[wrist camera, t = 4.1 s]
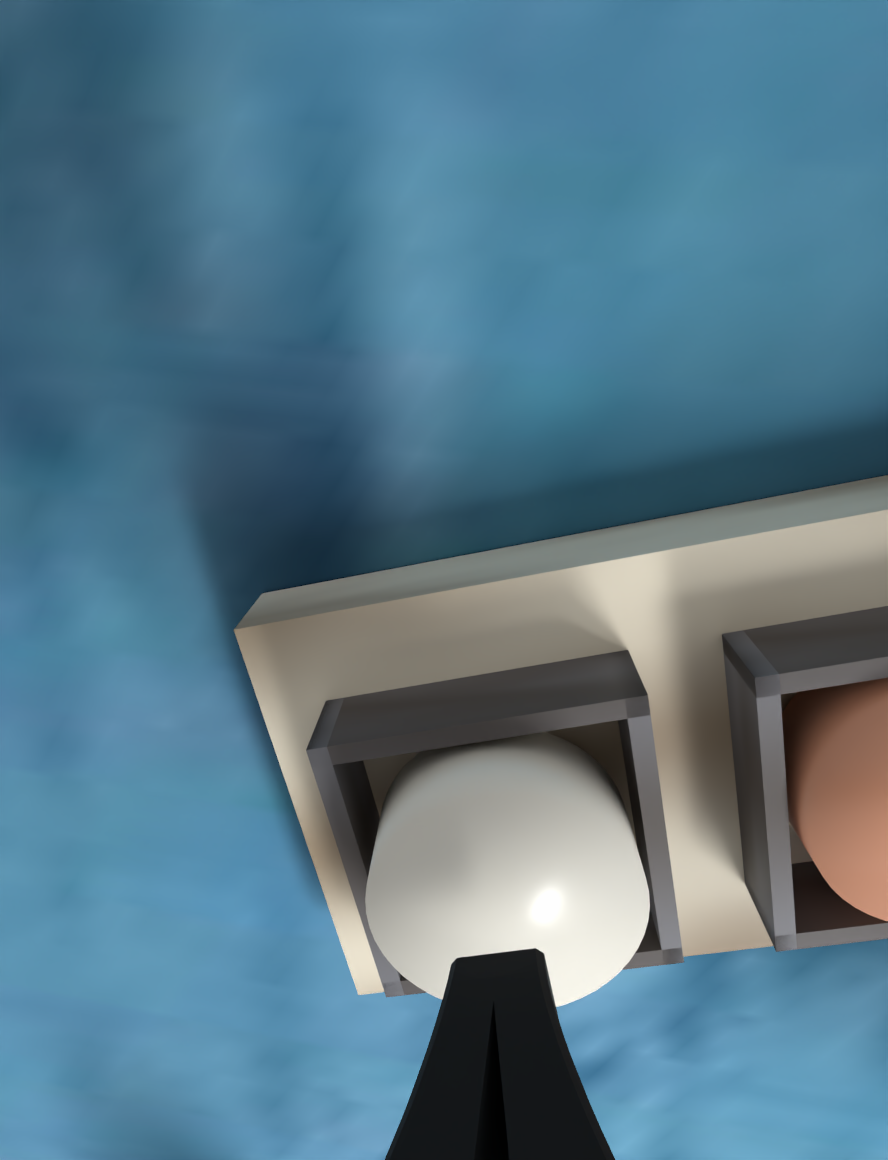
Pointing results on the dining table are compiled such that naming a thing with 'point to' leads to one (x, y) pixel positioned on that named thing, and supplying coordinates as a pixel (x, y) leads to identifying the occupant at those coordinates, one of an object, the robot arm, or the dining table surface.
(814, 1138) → the dining table surface
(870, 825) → the button terracotta
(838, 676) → the button board
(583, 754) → the button cream
